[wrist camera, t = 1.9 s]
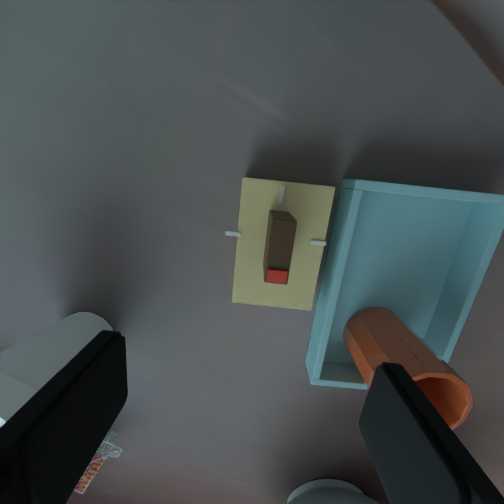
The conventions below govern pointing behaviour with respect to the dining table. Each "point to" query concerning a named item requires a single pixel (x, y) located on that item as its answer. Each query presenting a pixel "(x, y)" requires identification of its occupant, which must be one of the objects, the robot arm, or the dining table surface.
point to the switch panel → (304, 249)
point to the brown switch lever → (278, 247)
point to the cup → (406, 360)
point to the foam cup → (43, 358)
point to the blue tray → (401, 266)
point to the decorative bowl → (328, 493)
